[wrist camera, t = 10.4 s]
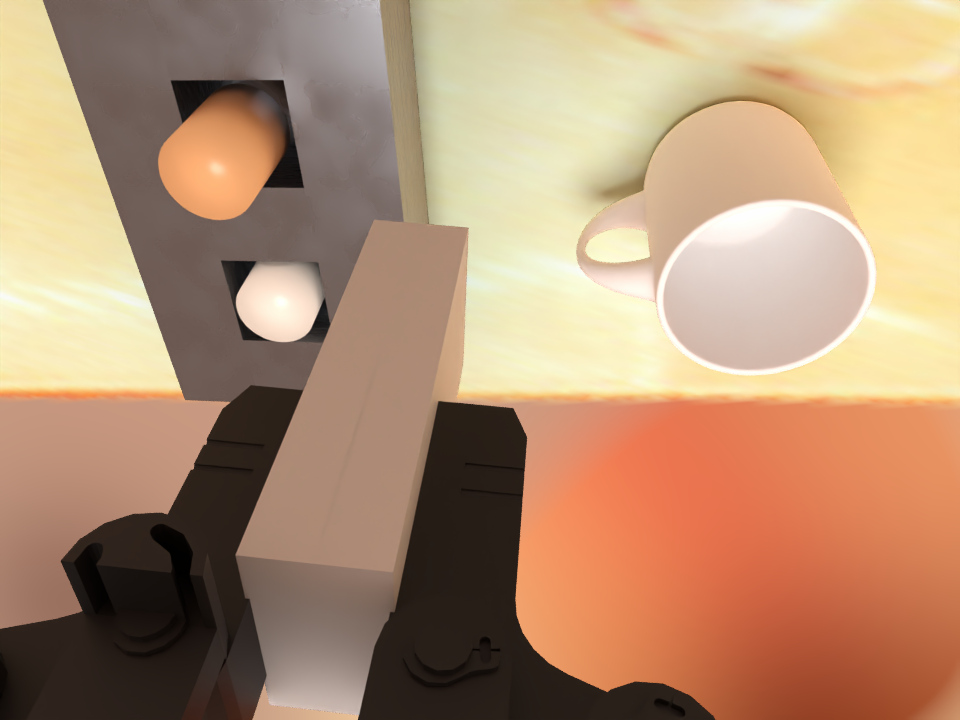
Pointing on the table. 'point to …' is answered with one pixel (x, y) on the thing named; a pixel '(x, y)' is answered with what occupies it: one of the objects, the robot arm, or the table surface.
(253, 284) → the cream rounded knob
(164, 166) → the knob mid
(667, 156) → the mug
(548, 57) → the table surface
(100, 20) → the panel
